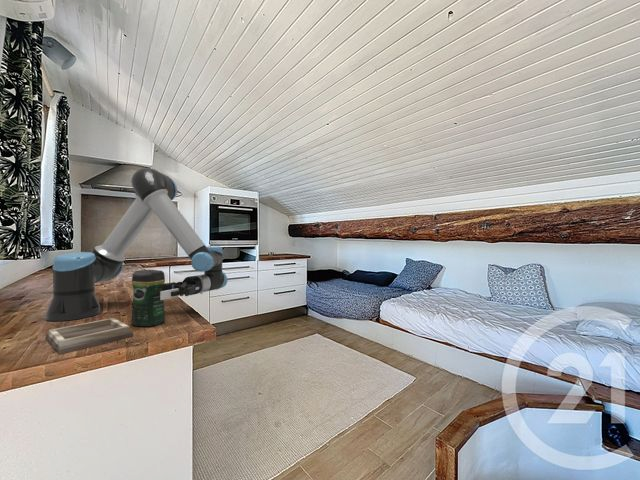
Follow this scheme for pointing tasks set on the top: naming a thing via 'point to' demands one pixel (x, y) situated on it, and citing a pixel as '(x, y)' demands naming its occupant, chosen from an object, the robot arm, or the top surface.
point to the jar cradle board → (87, 335)
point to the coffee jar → (147, 297)
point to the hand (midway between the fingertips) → (146, 294)
